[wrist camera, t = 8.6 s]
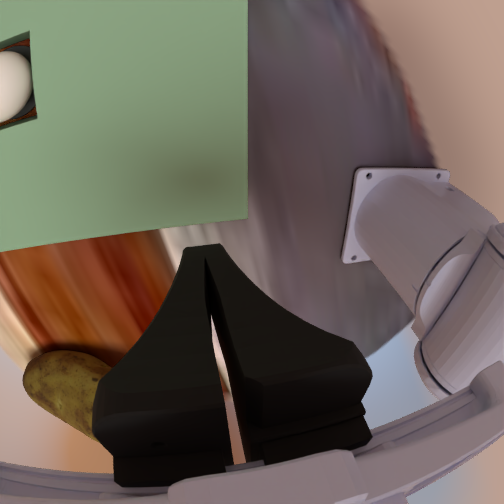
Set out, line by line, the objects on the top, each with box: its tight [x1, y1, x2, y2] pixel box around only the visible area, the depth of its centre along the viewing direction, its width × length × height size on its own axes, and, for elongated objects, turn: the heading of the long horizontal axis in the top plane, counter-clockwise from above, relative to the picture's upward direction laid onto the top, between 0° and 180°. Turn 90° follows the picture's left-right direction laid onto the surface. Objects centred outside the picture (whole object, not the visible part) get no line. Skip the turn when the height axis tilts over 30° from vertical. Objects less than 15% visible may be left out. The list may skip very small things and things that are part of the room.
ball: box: [0, 51, 33, 122], centre depth 11 cm, size 4×4×4 cm
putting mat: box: [0, 0, 248, 252], centre depth 14 cm, size 20×16×2 cm
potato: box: [23, 350, 112, 443], centre depth 24 cm, size 8×13×8 cm, turn 58°
